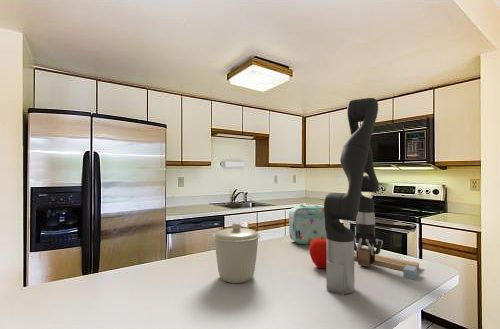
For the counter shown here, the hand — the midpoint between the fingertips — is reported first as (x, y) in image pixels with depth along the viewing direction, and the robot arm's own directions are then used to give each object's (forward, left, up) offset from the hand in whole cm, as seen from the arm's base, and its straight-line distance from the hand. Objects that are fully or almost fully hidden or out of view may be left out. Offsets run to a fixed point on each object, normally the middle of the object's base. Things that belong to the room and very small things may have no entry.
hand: (365, 261), depth 117 cm
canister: (-45, +33, -2) cm, 56 cm away
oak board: (+8, -5, -2) cm, 10 cm away
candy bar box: (-28, +45, -2) cm, 53 cm away
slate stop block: (0, -17, -2) cm, 17 cm away
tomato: (-13, +13, -2) cm, 19 cm away
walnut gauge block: (0, 0, -1) cm, 1 cm away
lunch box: (+20, +36, -2) cm, 41 cm away
